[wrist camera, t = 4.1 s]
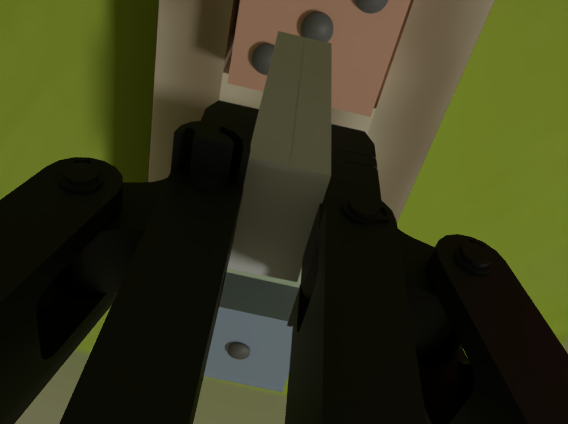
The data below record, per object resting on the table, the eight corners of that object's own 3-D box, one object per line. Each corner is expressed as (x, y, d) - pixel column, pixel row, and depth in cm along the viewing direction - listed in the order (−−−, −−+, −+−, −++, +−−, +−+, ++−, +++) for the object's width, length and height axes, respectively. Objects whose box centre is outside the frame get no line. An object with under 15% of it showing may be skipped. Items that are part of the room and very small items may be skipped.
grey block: (195, 317, 33) (178, 373, 30) (206, 248, 30) (188, 303, 26) (288, 337, 33) (281, 395, 30) (310, 271, 30) (305, 328, 27)
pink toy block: (242, 48, 24) (226, 85, 21) (266, -97, 21) (251, -80, 18) (367, 78, 25) (370, 119, 21) (411, -60, 21) (424, -36, 18)
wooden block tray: (155, 283, 37) (139, 321, 34) (192, -166, 21) (169, -163, 18) (335, 321, 37) (335, 362, 35) (502, -85, 22) (525, -71, 19)
